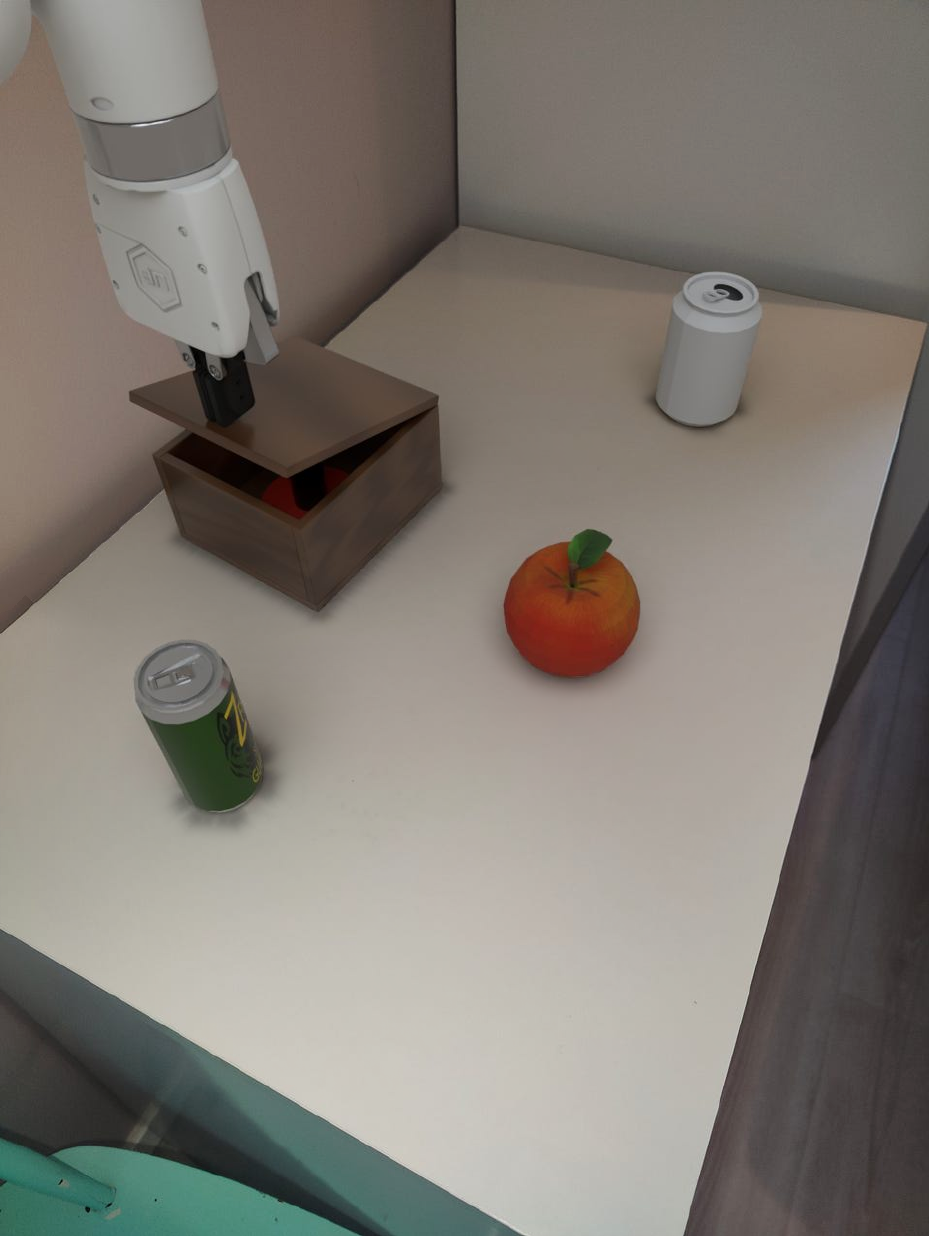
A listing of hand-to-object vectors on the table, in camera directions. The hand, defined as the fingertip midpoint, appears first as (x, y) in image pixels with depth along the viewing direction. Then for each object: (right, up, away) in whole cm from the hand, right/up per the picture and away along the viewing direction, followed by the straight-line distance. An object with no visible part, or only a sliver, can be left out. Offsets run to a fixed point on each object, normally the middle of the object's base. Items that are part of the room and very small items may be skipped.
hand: (231, 412), depth 62 cm
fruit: (+23, -16, +5) cm, 29 cm away
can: (+37, +6, +23) cm, 44 cm away
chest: (+3, -5, +14) cm, 15 cm away
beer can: (0, -25, -2) cm, 25 cm away
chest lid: (+3, +2, +5) cm, 6 cm away
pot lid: (+3, -5, +13) cm, 15 cm away
